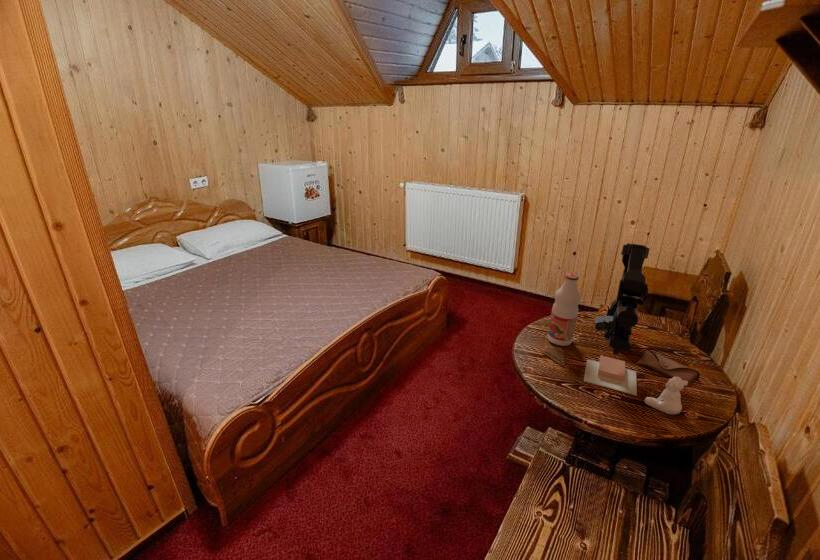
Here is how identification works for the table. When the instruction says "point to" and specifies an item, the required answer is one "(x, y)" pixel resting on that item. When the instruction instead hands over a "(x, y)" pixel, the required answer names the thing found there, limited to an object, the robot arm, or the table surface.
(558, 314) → the fruit juice
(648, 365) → the sunglasses case
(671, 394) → the sitting furry creature
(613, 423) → the table surface
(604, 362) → the glazed tile
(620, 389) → the felt mat
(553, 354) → the shard
